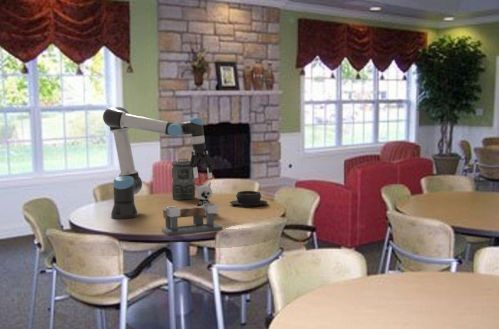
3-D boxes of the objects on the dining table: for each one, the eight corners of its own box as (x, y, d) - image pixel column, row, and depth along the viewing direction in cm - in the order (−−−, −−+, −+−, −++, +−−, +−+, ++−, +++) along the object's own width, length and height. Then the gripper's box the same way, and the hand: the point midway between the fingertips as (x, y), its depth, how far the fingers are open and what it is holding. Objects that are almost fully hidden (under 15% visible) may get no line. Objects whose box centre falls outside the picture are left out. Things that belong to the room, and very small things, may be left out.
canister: (168, 199, 373) (168, 159, 370) (178, 195, 388) (177, 157, 385) (189, 200, 369) (189, 160, 366) (198, 197, 384) (198, 158, 381)
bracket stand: (167, 235, 272) (167, 210, 271) (161, 231, 281) (161, 206, 280) (222, 229, 285) (222, 205, 283) (215, 225, 294) (215, 202, 292)
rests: (168, 228, 288) (168, 218, 288) (165, 226, 293) (165, 217, 292) (203, 224, 297) (203, 215, 296) (200, 222, 301) (200, 213, 301)
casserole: (265, 202, 364) (265, 190, 363) (269, 207, 346) (269, 194, 345) (228, 202, 362) (228, 190, 361) (230, 208, 343) (230, 195, 343)
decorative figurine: (193, 217, 315) (193, 183, 313) (190, 212, 329) (190, 180, 327) (218, 216, 319) (218, 183, 316) (214, 211, 333) (214, 179, 330)
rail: (165, 218, 288) (165, 210, 287) (163, 217, 291) (163, 209, 291) (205, 215, 297) (204, 207, 297) (202, 213, 301) (202, 206, 300)
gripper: (216, 141, 316) (221, 177, 318) (191, 143, 334) (195, 176, 336) (207, 143, 311) (211, 179, 313) (181, 144, 329) (185, 178, 331)
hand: (203, 178), depth 325 cm, fingers open, 13 cm apart
